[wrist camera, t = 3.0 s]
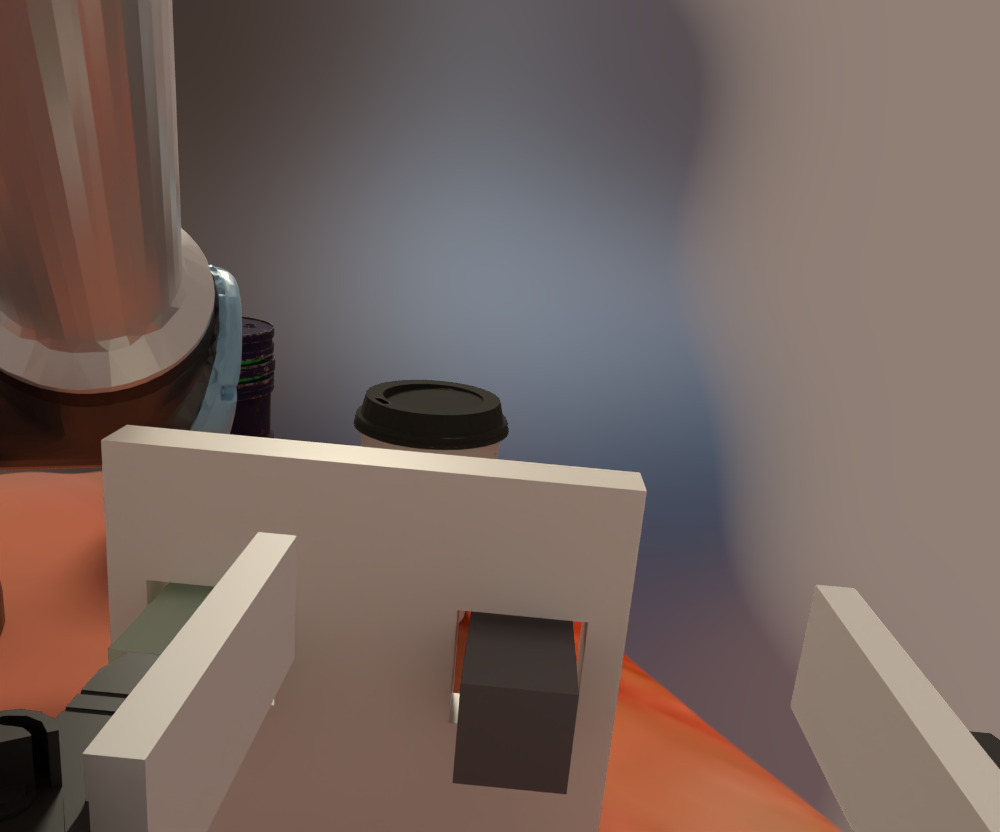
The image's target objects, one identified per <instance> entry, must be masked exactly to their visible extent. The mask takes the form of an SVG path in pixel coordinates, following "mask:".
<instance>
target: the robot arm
mask: <svg viewBox="0 0 1000 832" xmlns="http://www.w3.org/2000/svg"><path fill="white" fill-rule="evenodd" d="M174 65H175V64H174V39H173V15H172V0H0V470H21V469H22V470H23V469H55V468H90V467H102V450H101V440H102V439H104V438H105V437H107V436H109V435H110V434H112V433H114V432H115V431H117V430H119V429H121V428H122V427H124V426H126V425H135V426H145V427H156V428H167V429H177V430H188V431H199V432H210V433H220V434H230V432H231V428H232V424H233V420H234V416H235V410H236V403H237V389H236V387H237V384H238V382H239V376H240V370H241V356H242V313H241V300H240V294H239V288H238V285H237V282H236V280H235V278H234V277H233V276H232V275H231V274H230V273H229V272H228V271H227V270H225V269H223V268H219V267H218V268H217V267H213V266H212V265H210V264H209V263H208V262H207V259H206V257H205V256H204V254H203V253H202V251H201V249H200V248H199V246H198V245H197V244H196V243H195V241H193V239H192V238H191V237H190V236H189V235H188V234H187V233H186V232H185V231H184V230H183V229H182V228H181V215H180V190H179V165H178V142H177V141H178V140H177V116H176V89H175V67H174ZM296 553H297V536H295V535H285V534H274V533H263V532H258V533H257V534H256V536H255V537H254V538H253V539H252V541H251V542H250V543H249V544H248V546H247V547H246V548H245V550H244V551H243V552H242V553H241V555H240V556H239V557H238V558H237V560H236V561H235V562H234V563H233V565H232V566H231V567H230V568H229V570H228V571H227V572H226V573H225V575H224V576H223V577H222V578H221V580H220V581H219V582H218V583H217V585H216V586H215V587H214V589H213V590H212V591H211V592H210V594H209V595H208V596H207V597H206V599H205V600H204V601H203V602H202V604H201V605H200V606H199V607H198V609H197V610H196V611H195V612H194V614H193V615H192V616H191V617H190V619H189V620H188V621H187V623H186V624H185V625H184V626H183V628H182V629H181V630H180V631H179V633H178V634H177V635H176V636H175V638H174V639H173V640H172V641H171V643H170V644H169V645H168V646H167V648H166V649H165V650H164V651H163V653H162V654H161V655H151V654H141V653H131V652H128V653H127V654H125V655H123V656H122V657H120V658H118V659H116V660H115V661H113V662H111V663H110V664H108V665H106V666H104V667H103V668H101V669H100V670H99V671H98V672H97V673H96V674H95V675H94V676H93V677H92V679H91V680H90V681H89V682H88V683H87V684H86V685H85V686H84V687H83V689H82V690H81V694H77V695H76V696H75V698H74V699H73V700H72V701H71V702H70V703H69V704H68V705H67V706H66V710H65V711H62V712H61V713H60V714H59V715H58V716H57V718H56V719H55V720H54V719H53V718H51V717H49V716H47V715H46V714H44V713H42V712H39V711H32V710H25V709H15V710H5V711H0V832H207V830H208V828H209V826H210V825H211V823H212V821H213V819H214V817H215V815H216V813H217V811H218V809H219V807H220V805H221V803H222V801H223V799H224V797H225V795H226V793H227V791H228V789H229V787H230V785H231V783H232V781H233V779H234V777H235V775H236V773H237V771H238V769H239V767H240V765H241V763H242V761H243V759H244V757H245V755H246V753H247V751H248V749H249V747H250V745H251V743H252V741H253V739H254V737H255V735H256V734H257V732H258V730H259V728H260V726H261V724H262V722H263V720H264V718H265V716H266V714H267V712H268V710H269V708H270V706H271V704H272V702H273V700H274V698H275V696H276V694H277V692H278V690H279V688H280V686H281V684H282V682H283V680H284V678H285V676H286V674H287V672H288V670H289V668H290V666H291V664H292V662H293V660H294V654H295V603H296ZM4 623H5V613H4V602H3V591H2V586H1V582H0V634H1V632H2V630H3V627H4ZM790 707H791V709H792V711H793V712H794V714H795V717H796V719H797V721H798V723H799V725H800V727H801V729H802V731H803V733H804V735H805V737H806V739H807V741H808V743H809V745H810V747H811V749H812V751H813V753H814V755H815V757H816V759H817V761H818V763H819V765H820V767H821V769H822V771H823V773H824V775H825V777H826V779H827V781H828V783H829V785H830V788H831V790H832V791H833V794H834V796H835V798H836V800H837V801H838V804H839V806H840V808H841V810H842V812H843V814H844V816H845V818H846V820H847V822H848V824H849V826H850V828H851V830H852V832H1000V740H999V739H998V738H996V737H995V736H993V735H992V734H989V733H980V732H970V731H968V729H967V728H966V727H965V725H964V724H963V723H962V722H961V721H960V719H959V718H958V717H957V715H956V714H955V713H954V712H953V710H952V709H951V708H950V707H949V705H948V704H947V703H946V702H945V701H944V699H943V698H942V697H941V695H940V694H939V693H938V692H937V690H936V689H935V688H934V687H933V685H932V684H931V683H930V682H929V680H927V678H926V677H925V676H924V674H923V673H922V672H921V671H920V669H919V668H918V667H917V666H916V664H915V663H914V662H913V660H912V659H911V658H910V657H909V656H908V654H907V653H906V652H905V651H904V649H903V648H902V647H901V646H900V644H899V643H898V642H897V640H896V639H895V638H894V637H893V635H892V634H891V633H890V632H889V630H888V629H887V628H886V627H885V625H884V624H883V623H882V622H881V620H880V619H879V618H878V617H877V616H876V614H875V613H874V612H873V610H872V609H871V608H870V607H869V605H868V604H867V603H866V602H865V600H864V599H863V598H862V597H861V596H860V594H859V593H858V592H857V590H856V589H855V588H845V587H835V586H823V585H816V586H815V590H814V595H813V600H812V605H811V610H810V615H809V620H808V624H807V629H806V634H805V639H804V643H803V649H802V653H801V658H800V663H799V668H798V672H797V678H796V682H795V687H794V692H793V697H792V701H791V706H790Z"/></svg>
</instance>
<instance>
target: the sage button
mask: <svg viewBox="0 0 1000 832" xmlns="http://www.w3.org/2000/svg"><path fill="white" fill-rule="evenodd" d="M213 589H214V586H203V585H193V584H183V583H172V582H169V583H168V584H167V585H166V586H165V588H164V589H163V590H162V591H161V592H160V593H159V594H158V595H157V596H156V597H155V598H154V599H153V601H152V602H151V603H150V604H149V605H148V606H147V607H146V608H145V609H144V610H143V611H142V613H141V614H140V615H139V616H138V617H137V618H136V619H135V620H134V621H133V622H132V623H131V625H130V626H129V627H128V628H127V629H126V630H125V631H124V632H123V633H122V634H121V635H120V636H119V638H118V639H117V640H116V641H115V642H114V643H113V644H112V645H111V646H110V647H109V648H108V658H109V664H110V663H111V662H113V661H115V660H116V659H118V658H120V657H122V656H123V655H125V654H127V653H128V652H131V653H141V654H151V655H161V654H162V653H163V651H164V650H165V649H166V648H167V646H168V645H169V644H170V643H171V641H172V640H173V639H174V638H175V636H176V635H177V634H178V633H179V631H180V630H181V629H182V628H183V626H184V625H185V624H186V623H187V621H188V620H189V619H190V617H191V616H192V615H193V614H194V612H195V611H196V610H197V609H198V607H199V606H200V605H201V604H202V602H203V601H204V600H205V599H206V597H207V596H208V595H209V594H210V592H211V591H212V590H213Z"/></svg>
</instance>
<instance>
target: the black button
mask: <svg viewBox="0 0 1000 832" xmlns="http://www.w3.org/2000/svg"><path fill="white" fill-rule="evenodd" d="M578 700H579V688H578V676H577V665H576V654H575V643H574V631H573V621H567V620H557V619H546V618H536V617H525V616H515V615H505V614H494V613H484V612H473V611H471V616H470V623H469V630H468V637H467V643H466V650H465V657H464V664H463V671H462V677H461V685H460V697H459V709H458V721H457V733H456V745H455V757H454V770H453V782H452V783H456V784H466V785H476V786H486V787H496V788H506V789H516V790H527V791H537V792H547V793H557V794H567V786H568V778H569V771H570V763H571V755H572V747H573V739H574V731H575V724H576V716H577V708H578Z"/></svg>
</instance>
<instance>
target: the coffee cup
mask: <svg viewBox="0 0 1000 832" xmlns="http://www.w3.org/2000/svg"><path fill="white" fill-rule="evenodd" d="M507 425H508V423H507V420H506V417H505V416H504V415H503V414H502V409H501V403H500V400H499V398H498V397H497V396H496V395H494V394H493V393H491V392H489V391H486V390H484V389H481V388H477V387H474V386H469V385H465V384H460V383H453V382H444V381H433V380H402V381H392V382H386V383H381V384H378V385H375V386H373V387H370V388H369V389H368V390H367V391H366V395H365V398H364V401H363V404H362V405H361V406H360V407H359V408H358V409H357V411H356V415H355V419H354V426H355V428H356V429H357V430H358V431H359V432H361V445H362V447H370V448H381V449H391V450H402V451H413V452H423V453H434V454H445V455H456V456H466V457H477V458H488V459H497V454H498V450H499V445H500V441H502V440H503V439H504V438H506V437H507V435H508V432H509V431H508V426H507ZM464 614H465V611H463V610H460V615H459V622H460V621H461V620H462V619H463V617H464Z"/></svg>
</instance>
